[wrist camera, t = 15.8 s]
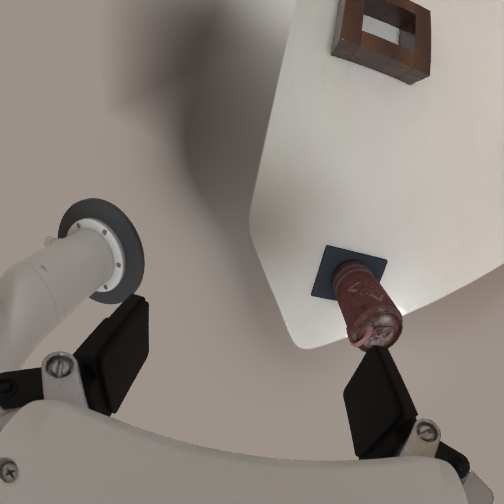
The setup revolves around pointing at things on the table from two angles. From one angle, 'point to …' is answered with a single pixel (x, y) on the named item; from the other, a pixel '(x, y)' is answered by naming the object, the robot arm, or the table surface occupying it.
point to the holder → (380, 50)
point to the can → (365, 307)
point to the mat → (333, 260)
